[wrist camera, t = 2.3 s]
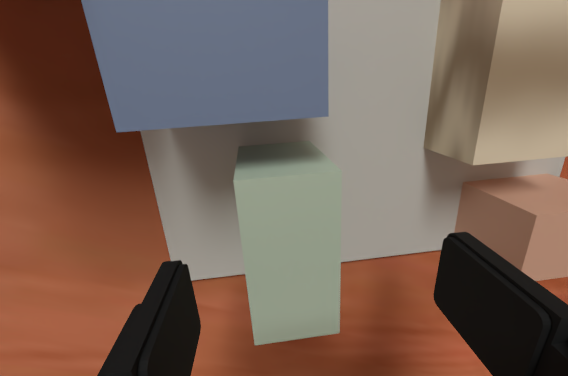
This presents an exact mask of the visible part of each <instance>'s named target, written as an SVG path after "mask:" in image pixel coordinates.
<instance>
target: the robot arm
mask: <svg viewBox="0 0 568 376" xmlns="http://www.w3.org/2000/svg"><path fill="white" fill-rule="evenodd" d="M434 300H435V303H436V305H437V306H438V307H439V309H440V310H441V311H442V312H443V314H444V315H445V316H446V317H447V319H448V320H449V321H450V323H451V324H452V325H453V326H454V328H455V329H456V330H457V331H458V333H459V334H460V335H461V336H462V338H463V339H464V340H465V341H466V343H467V344H468V345H469V346H470V348H471V349H472V350H473V351H474V353H475V354H476V355H477V357H478V358H479V359H480V360H481V362H482V363H483V364H484V365H485V367H486V368H487V369H488V370H489V372H490V373H491V374H492V375H493V376H568V305H567V304H566V303H564V302H563V301H562V300H560V299H559V298H558V297H556V296H555V295H553V294H552V293H551V292H549V291H548V290H547V289H545V288H544V287H542V286H541V285H540V284H538V283H537V282H536V281H534V280H533V279H531V278H530V277H529V276H527V275H526V274H525V273H523V272H522V271H520V270H519V269H518V268H516V267H515V266H514V265H512V264H511V263H509V262H508V261H507V260H505V259H504V258H503V257H501V256H500V255H498V254H497V253H496V252H494V251H493V250H492V249H490V248H489V247H487V246H486V245H485V244H483V243H482V242H481V241H479V240H478V239H476V238H475V237H474V236H472V235H471V234H470V233H468V232H457V233H450V234H448V235H447V238H444V240H443V244H442V250H441V255H440V261H439V267H438V273H437V278H436V284H435V290H434ZM200 329H201V324H200V318H199V314H198V309H197V304H196V300H195V295H194V291H193V286H192V282H191V277H190V273H189V268H188V265H187V264H183V263H182V261H181V260H177V261H167V262H163V263H162V265H161V267H160V269H159V271H158V272H157V274H156V276H155V278H154V280H153V282H152V284H151V286H150V288H149V290H148V292H147V294H146V296H145V298H144V300H143V302H142V304H138V305H136V306H135V307H134V309H133V310H132V312H131V314H130V316H129V318H128V320H127V321H126V323H125V325H124V327H123V329H122V331H121V333H120V334H119V336H118V338H117V340H116V342H115V344H114V346H113V347H112V349H111V351H110V353H109V355H108V357H107V359H106V361H105V362H104V364H103V366H102V368H101V370H100V372H99V374H98V375H97V376H190V375H191V371H192V367H193V362H194V358H195V353H196V349H197V344H198V340H199V335H200Z"/></svg>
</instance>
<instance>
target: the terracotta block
mask: <svg viewBox="0 0 568 376" xmlns="http://www.w3.org/2000/svg"><path fill="white" fill-rule="evenodd" d="M457 232H468V233H470V234H471V235H472V236H474V237H475V238H476V239H478V240H479V241H481V242H482V243H483V244H485V245H486V246H487V247H489V248H490V249H492V250H493V251H494V252H496V253H497V254H498V255H500V256H501V257H503V258H504V259H505V260H507V261H508V262H509V263H511V264H512V265H514V266H515V267H516V268H518V269H519V270H520V271H522V272H523V273H525V274H526V275H527V276H529V277H530V278H531V279H533V280H534V281H540V280H547V279H554V278H561V277H568V180H567V179H564V178H561V177H557V176H554V175H551V174H537V175H527V176H517V177H508V178H498V179H488V180H478V181H468V182H463V185H462V191H461V196H460V202H459V208H458V214H457V219H456V225H455V231H454V233H457Z"/></svg>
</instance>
